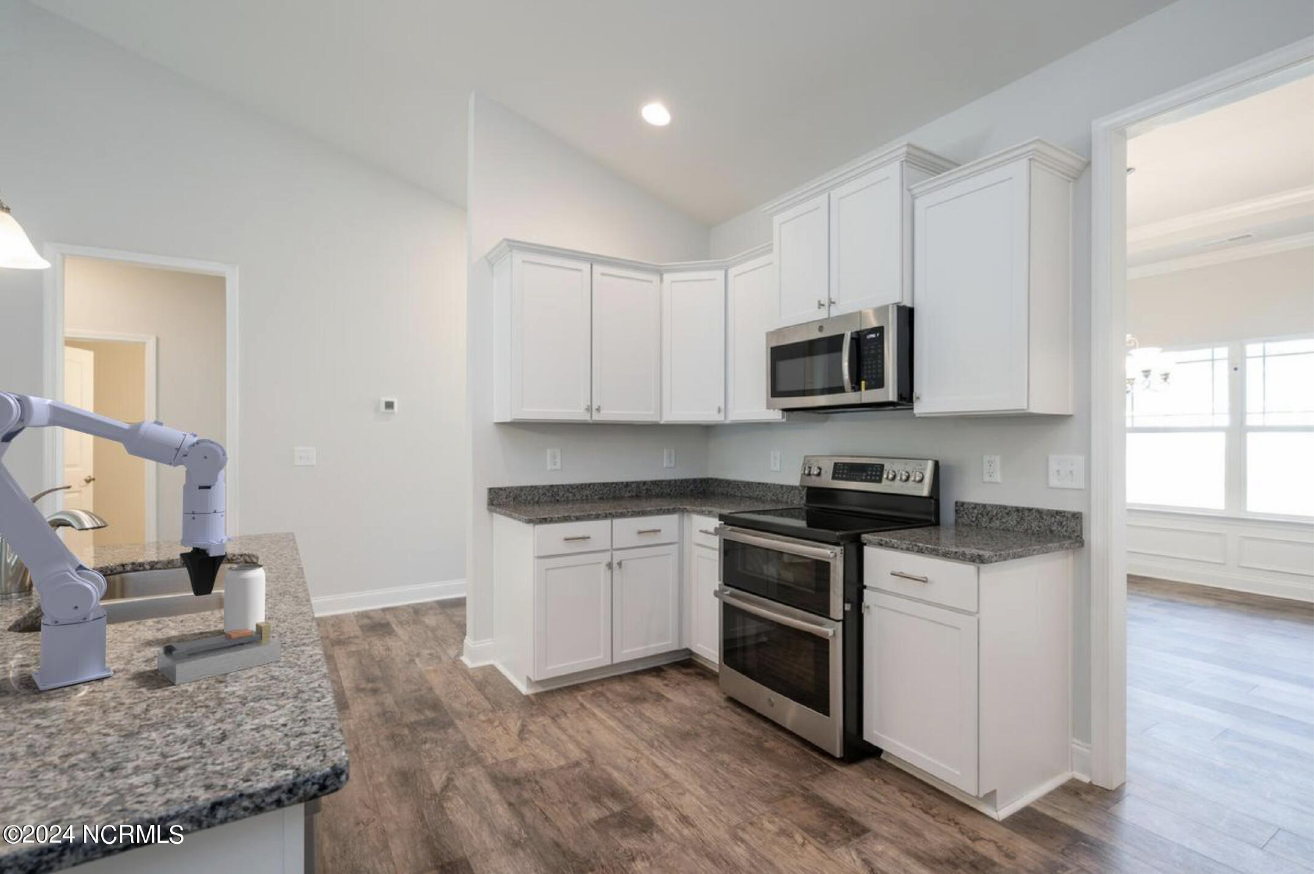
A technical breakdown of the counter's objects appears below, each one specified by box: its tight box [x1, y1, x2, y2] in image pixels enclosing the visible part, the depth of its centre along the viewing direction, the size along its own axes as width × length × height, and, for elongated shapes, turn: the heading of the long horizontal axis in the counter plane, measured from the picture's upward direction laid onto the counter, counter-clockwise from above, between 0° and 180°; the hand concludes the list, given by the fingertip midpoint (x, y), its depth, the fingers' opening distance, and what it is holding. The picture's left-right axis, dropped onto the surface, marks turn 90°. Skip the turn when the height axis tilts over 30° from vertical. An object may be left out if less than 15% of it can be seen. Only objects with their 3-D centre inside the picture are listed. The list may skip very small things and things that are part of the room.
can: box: [223, 563, 266, 633], centre depth 118 cm, size 6×6×12 cm
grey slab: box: [171, 628, 261, 654], centre depth 100 cm, size 4×11×1 cm, turn 141°
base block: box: [156, 621, 282, 686], centre depth 100 cm, size 10×14×5 cm
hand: (202, 594), depth 103 cm, fingers closed
